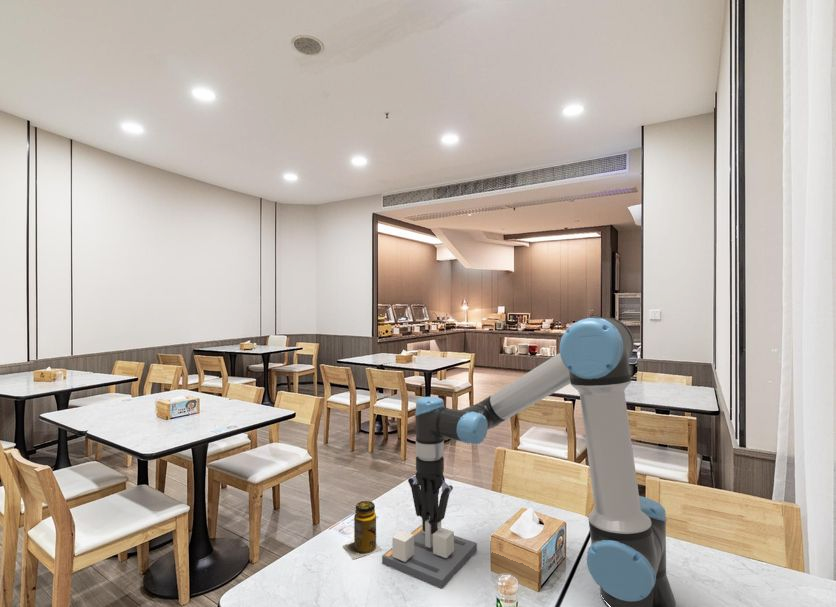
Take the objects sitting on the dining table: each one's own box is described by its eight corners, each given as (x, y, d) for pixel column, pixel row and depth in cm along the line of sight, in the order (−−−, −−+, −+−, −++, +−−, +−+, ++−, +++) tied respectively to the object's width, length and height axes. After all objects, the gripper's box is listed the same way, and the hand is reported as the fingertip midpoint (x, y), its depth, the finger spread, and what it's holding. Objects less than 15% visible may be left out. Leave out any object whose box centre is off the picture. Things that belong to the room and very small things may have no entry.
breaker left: (414, 554, 110) (414, 534, 110) (405, 561, 107) (405, 541, 107) (401, 549, 112) (401, 530, 112) (392, 556, 109) (392, 537, 109)
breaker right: (441, 530, 122) (441, 512, 122) (434, 536, 119) (434, 518, 119) (429, 526, 124) (429, 509, 124) (422, 532, 121) (422, 514, 121)
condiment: (381, 549, 117) (381, 506, 117) (353, 560, 112) (353, 514, 112) (369, 537, 123) (369, 496, 123) (342, 547, 118) (342, 503, 118)
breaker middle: (453, 550, 112) (453, 531, 112) (446, 558, 108) (446, 538, 108) (440, 546, 114) (440, 527, 114) (433, 553, 111) (432, 534, 111)
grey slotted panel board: (476, 550, 116) (476, 542, 116) (441, 588, 100) (441, 580, 100) (421, 531, 126) (421, 524, 126) (382, 563, 110) (382, 555, 110)
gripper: (457, 456, 113) (458, 545, 113) (417, 447, 120) (417, 531, 120) (443, 465, 107) (444, 559, 107) (401, 455, 114) (402, 543, 114)
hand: (430, 544), depth 113 cm, fingers closed
